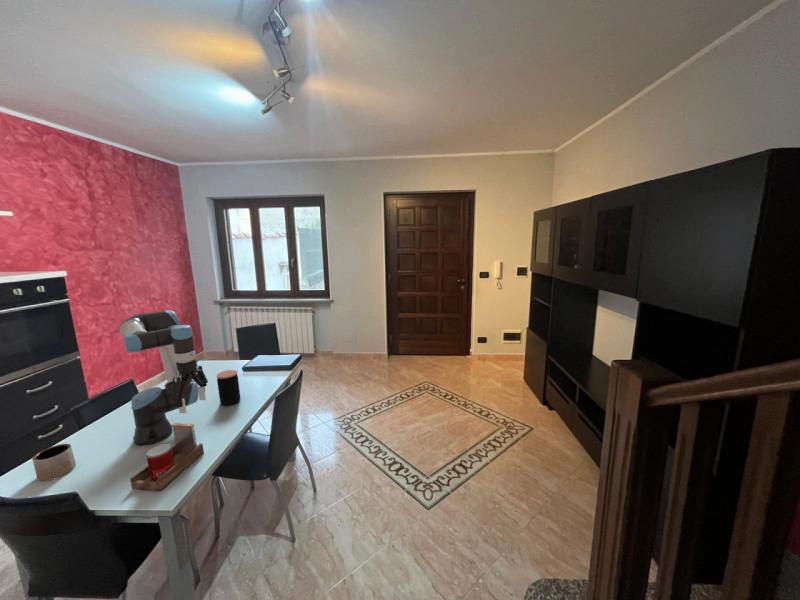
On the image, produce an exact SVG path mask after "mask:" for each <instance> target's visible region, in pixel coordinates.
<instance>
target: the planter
mask: <svg viewBox="0 0 800 600" xmlns="http://www.w3.org/2000/svg"><path fill="white" fill-rule="evenodd" d="M32 462H33V463H32V464H33V467H34V471H35V475H36V478H37V480H38V481H39V480H40V482H44V481H45V482H46V480H48V481H52V480H51V479H53V480H55V479H54V478H56V479H58V478H60V476H61V477H63V476H65V475H66V474H68V473H70V472H71V471H72V470H73V469H74V468H75V467H76V465H77V464H76V460H75V457H74V452H73V449H72V445H71V444H70V443H60V444H57V445H56V444H55V445H53V446H50V447H47V448H45V449H43V450H41V451H39V452H37V453H36V454H35V455H34V456H32ZM64 474H65V475H64ZM62 475H63V476H62ZM57 477H58V478H57Z"/></svg>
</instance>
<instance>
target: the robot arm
mask: <svg viewBox="0 0 800 600" xmlns="http://www.w3.org/2000/svg"><path fill="white" fill-rule="evenodd" d="M192 329H193V328H192V326H191V325H189V324H182V325H181V323H180V320H179V317H178V315H177V314H176V312H175V311H173V310H170V309H168V310H167V309H166V310H159V311H153V312H146V313H137V314H134V315H132V316H129V317H127V318H126V319H124V320H123V321H122V322H121V323H120V325H119V327H118V331H119V334H120V335H121V336H122V337H123V345H124V348H125V351H126V353H130V354H131V353H139V352H141V351H142V352H143V351H146V350H151V349H156V348H158V350H159V355H160V359H161V363H162V366H163V369H164V374H165V377H166V378H165V379H166V381H167V382H166V383H165V384H164V388H161V387H159V386H155V387H149V388H147V389H144V390H142V391H140V392H138V393H137V394H135V395H134V396H133V397H132V398H131V403H130V404H131V410H132V413H133V419H134V425H135V428H134V435H133V439H132V442H133V444H134V446H137V447H145V446H146V447H147V446H150V445H154V444H158V443H159V442H162V441H163V440H166V439H167V438H168V437H170V436H171V435H172V434H173V433H174V432H173V427H172V425H173V424H171V422H170V421H169V420H168V418H167V415H166V413H169V412H172V411H175V410H178V412H179V414H187V407H188V406H191V405H193V404H196V403H197V402H198V401H206V399H207V398H206V387H207V385H208V382H209V380H208V379H207V377H206V375H205V372H204V370H203V366H202V365H198V363H197V362H198V360H197V355H196V348H195V342H194V335H193V334H194V331H193V330H192Z"/></svg>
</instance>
